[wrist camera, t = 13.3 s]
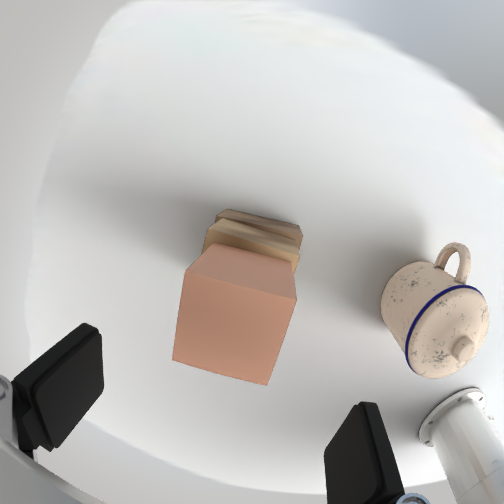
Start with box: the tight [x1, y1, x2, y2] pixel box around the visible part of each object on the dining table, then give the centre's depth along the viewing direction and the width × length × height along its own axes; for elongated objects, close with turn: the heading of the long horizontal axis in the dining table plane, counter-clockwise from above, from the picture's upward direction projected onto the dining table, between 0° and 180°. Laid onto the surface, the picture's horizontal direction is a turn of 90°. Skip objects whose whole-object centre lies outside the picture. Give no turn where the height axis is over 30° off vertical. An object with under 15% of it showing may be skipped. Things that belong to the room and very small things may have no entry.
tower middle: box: [201, 218, 300, 275], centre depth 21 cm, size 6×6×5 cm
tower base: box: [215, 209, 303, 251], centre depth 26 cm, size 7×7×5 cm
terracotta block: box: [172, 242, 297, 385], centre depth 16 cm, size 5×5×6 cm
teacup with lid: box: [381, 242, 489, 379], centre depth 22 cm, size 12×9×12 cm
